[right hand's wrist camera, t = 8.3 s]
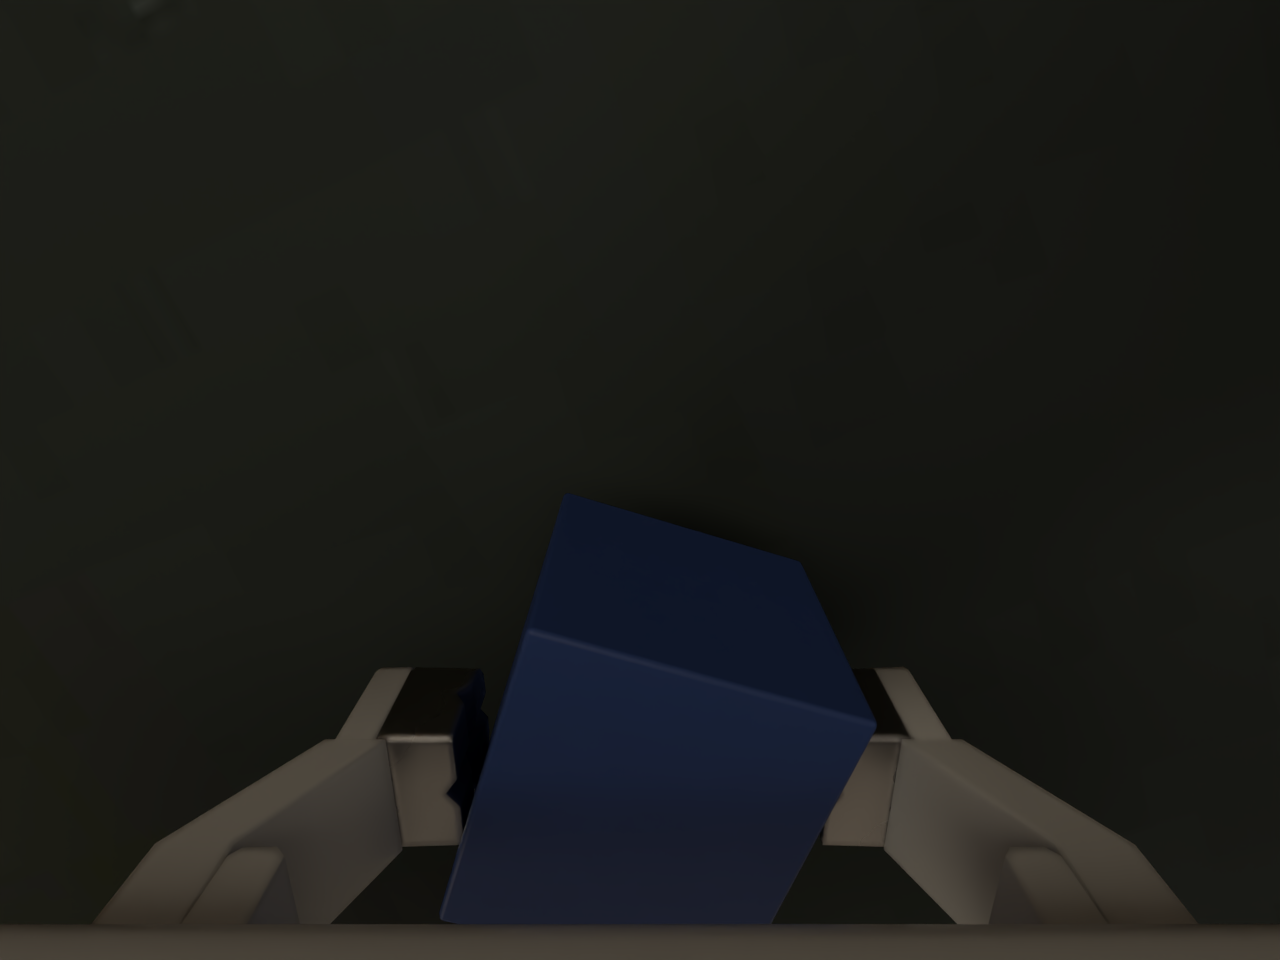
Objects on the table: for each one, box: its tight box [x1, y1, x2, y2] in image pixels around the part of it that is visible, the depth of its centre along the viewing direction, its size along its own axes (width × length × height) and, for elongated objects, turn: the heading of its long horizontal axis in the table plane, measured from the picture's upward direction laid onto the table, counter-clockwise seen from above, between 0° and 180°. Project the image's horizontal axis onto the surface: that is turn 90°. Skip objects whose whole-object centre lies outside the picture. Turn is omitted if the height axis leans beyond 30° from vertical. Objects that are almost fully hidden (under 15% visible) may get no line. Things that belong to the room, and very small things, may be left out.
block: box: [439, 493, 877, 924], centre depth 10 cm, size 5×4×4 cm
